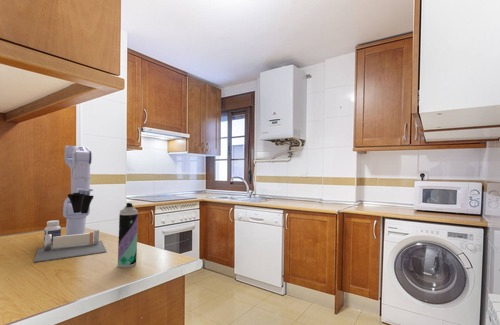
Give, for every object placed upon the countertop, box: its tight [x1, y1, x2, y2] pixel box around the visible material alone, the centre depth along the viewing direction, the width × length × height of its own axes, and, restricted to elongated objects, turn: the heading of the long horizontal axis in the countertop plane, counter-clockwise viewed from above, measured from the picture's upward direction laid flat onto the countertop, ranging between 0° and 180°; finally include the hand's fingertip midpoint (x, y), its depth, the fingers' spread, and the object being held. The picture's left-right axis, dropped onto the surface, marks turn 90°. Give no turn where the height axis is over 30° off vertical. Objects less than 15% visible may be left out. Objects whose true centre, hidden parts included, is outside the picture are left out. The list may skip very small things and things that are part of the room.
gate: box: [53, 231, 94, 248], centre depth 102 cm, size 13×1×5 cm, turn 125°
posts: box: [43, 229, 100, 251], centre depth 101 cm, size 2×17×6 cm, turn 125°
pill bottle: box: [43, 219, 62, 247], centre depth 104 cm, size 5×5×10 cm
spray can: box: [117, 202, 139, 269], centre depth 85 cm, size 6×6×20 cm
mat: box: [32, 240, 108, 264], centre depth 98 cm, size 18×21×1 cm
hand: (81, 213), depth 103 cm, fingers open, 7 cm apart
